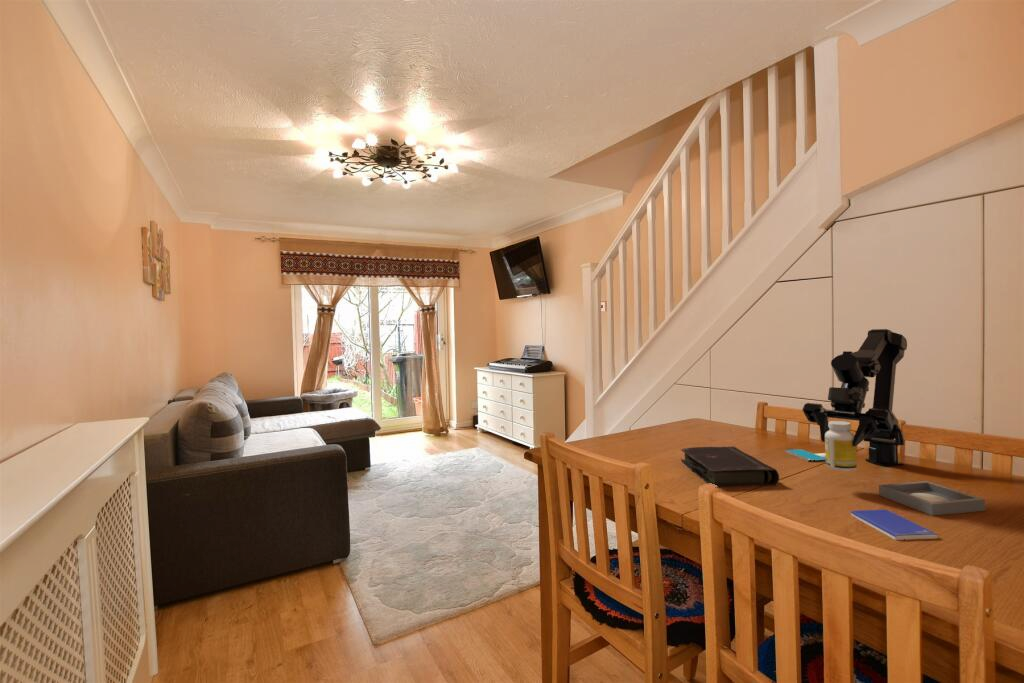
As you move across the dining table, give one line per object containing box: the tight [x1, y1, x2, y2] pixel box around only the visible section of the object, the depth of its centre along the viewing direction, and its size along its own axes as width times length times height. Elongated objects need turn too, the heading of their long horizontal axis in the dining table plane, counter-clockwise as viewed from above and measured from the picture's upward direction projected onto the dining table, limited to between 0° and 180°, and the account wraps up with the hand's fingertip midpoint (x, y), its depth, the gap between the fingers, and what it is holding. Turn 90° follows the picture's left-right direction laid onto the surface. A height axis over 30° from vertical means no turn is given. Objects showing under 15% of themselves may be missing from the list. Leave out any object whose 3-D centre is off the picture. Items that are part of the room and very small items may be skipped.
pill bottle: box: [824, 420, 858, 472], centre depth 119 cm, size 6×6×12 cm
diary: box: [680, 445, 780, 488], centre depth 137 cm, size 19×25×5 cm
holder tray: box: [878, 480, 986, 517], centre depth 108 cm, size 13×13×2 cm
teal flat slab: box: [784, 447, 826, 464], centre depth 149 cm, size 20×12×2 cm, turn 5°
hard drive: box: [850, 509, 938, 541], centre depth 97 cm, size 2×8×12 cm
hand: (838, 443), depth 118 cm, fingers closed on pill bottle, 6 cm apart
